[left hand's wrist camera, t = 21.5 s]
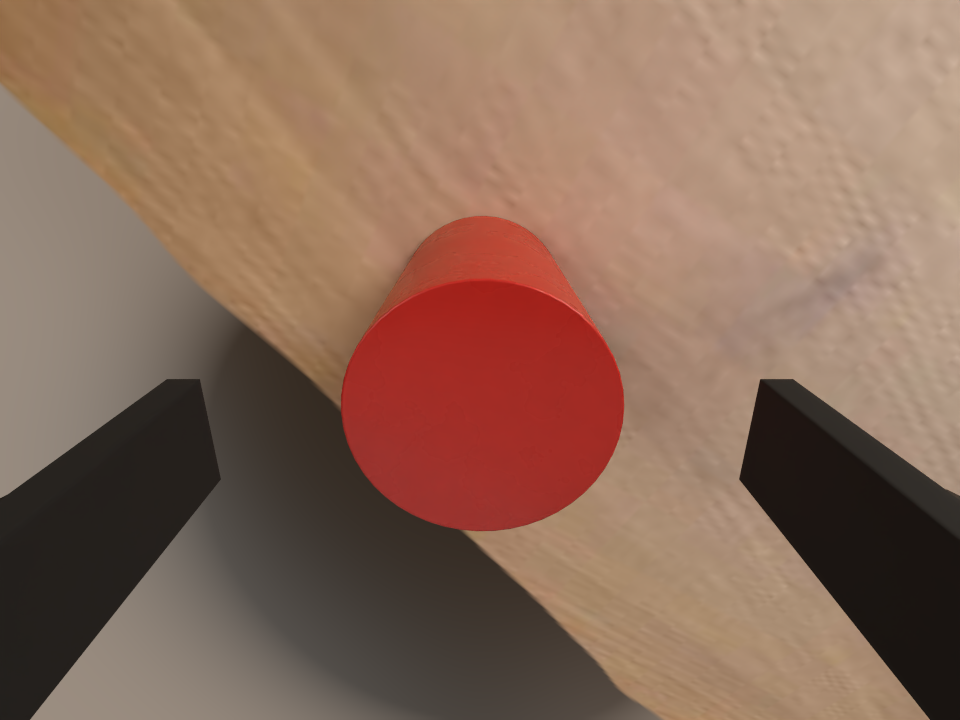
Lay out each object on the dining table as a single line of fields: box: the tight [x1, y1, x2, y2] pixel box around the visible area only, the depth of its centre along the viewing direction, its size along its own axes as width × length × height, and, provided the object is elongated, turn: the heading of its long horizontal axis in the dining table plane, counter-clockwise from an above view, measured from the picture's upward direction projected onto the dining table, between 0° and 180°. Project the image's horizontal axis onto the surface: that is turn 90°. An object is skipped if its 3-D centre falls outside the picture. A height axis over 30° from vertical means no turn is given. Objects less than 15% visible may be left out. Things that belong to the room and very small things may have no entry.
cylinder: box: [341, 216, 624, 531], centre depth 18 cm, size 7×7×11 cm
